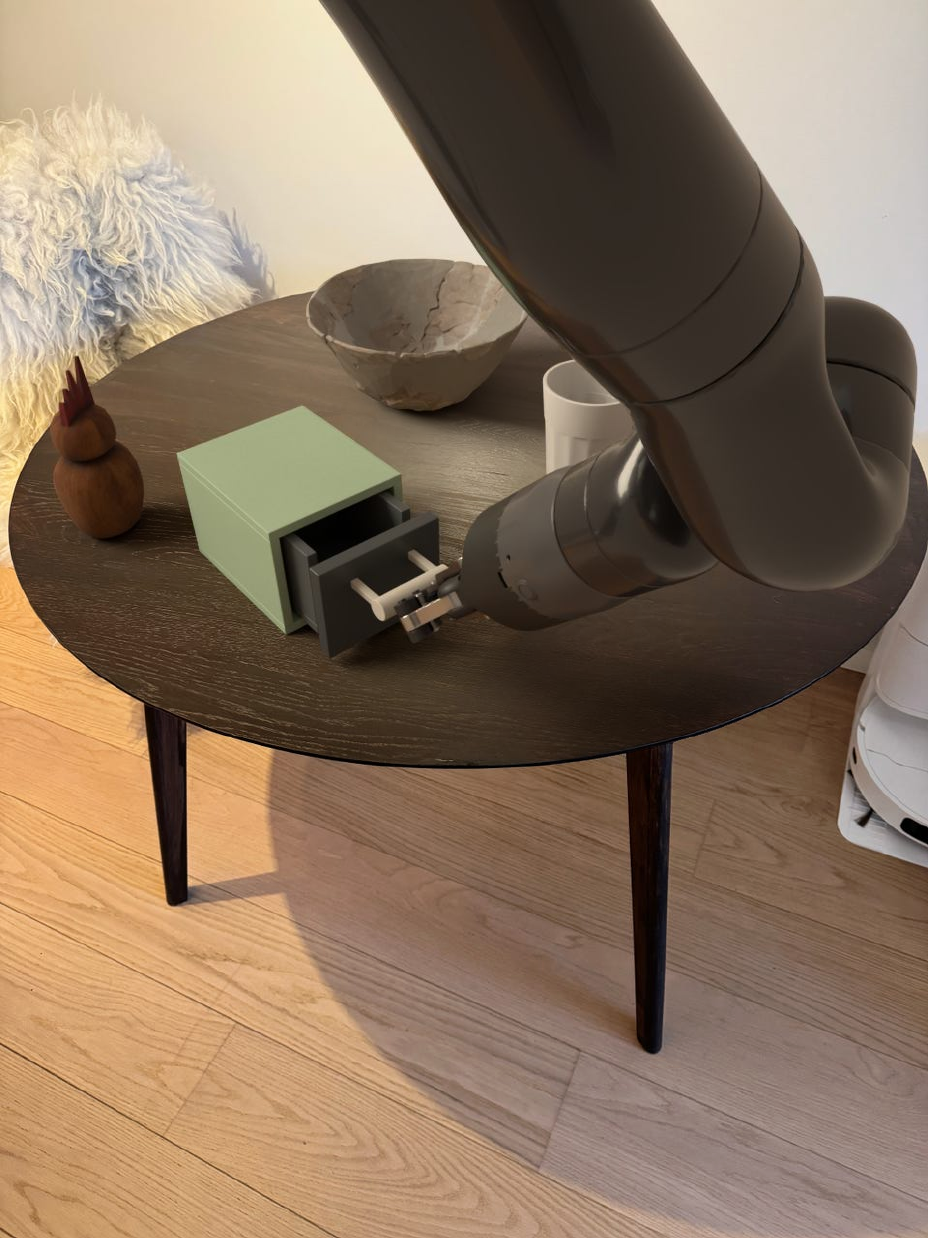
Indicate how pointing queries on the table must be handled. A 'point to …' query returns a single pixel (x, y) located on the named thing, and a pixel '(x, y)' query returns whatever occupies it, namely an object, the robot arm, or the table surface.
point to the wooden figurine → (93, 464)
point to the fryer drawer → (359, 568)
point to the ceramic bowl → (416, 328)
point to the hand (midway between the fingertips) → (424, 606)
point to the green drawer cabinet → (274, 497)
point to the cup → (579, 416)
